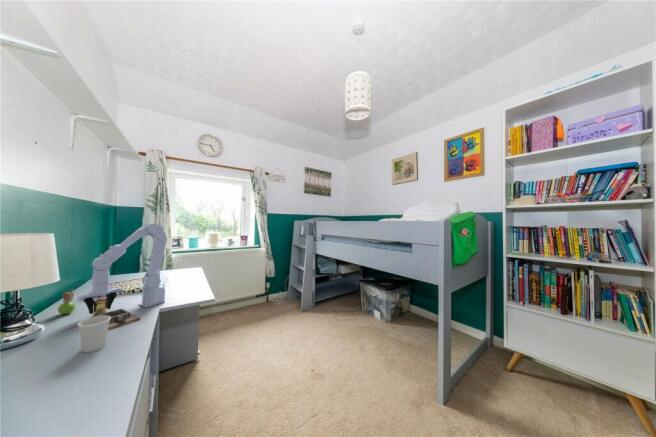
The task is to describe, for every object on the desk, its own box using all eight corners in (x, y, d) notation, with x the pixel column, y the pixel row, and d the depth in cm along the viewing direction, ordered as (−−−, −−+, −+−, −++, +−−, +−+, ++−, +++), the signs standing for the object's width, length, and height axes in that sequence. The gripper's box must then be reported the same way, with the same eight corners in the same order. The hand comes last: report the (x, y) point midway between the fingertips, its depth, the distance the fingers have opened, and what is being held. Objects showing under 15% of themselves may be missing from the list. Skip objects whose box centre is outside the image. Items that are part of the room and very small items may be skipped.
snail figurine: (64, 317, 103) (65, 291, 103) (54, 315, 105) (55, 289, 105) (79, 312, 109) (80, 287, 109) (69, 310, 110) (70, 286, 110)
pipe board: (123, 312, 111) (123, 306, 111) (139, 319, 103) (140, 313, 103) (89, 321, 100) (89, 314, 100) (105, 330, 93) (105, 323, 93)
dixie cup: (89, 356, 76) (90, 326, 76) (69, 352, 78) (70, 324, 78) (116, 342, 84) (117, 316, 84) (97, 340, 86) (98, 314, 86)
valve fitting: (104, 312, 110) (105, 296, 110) (109, 314, 108) (110, 298, 108) (89, 315, 106) (90, 299, 106) (94, 318, 103) (95, 301, 103)
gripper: (116, 277, 115) (115, 304, 115) (75, 285, 102) (74, 314, 102) (123, 280, 112) (122, 307, 112) (81, 287, 99) (80, 318, 99)
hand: (99, 311), depth 107 cm, fingers open, 5 cm apart
